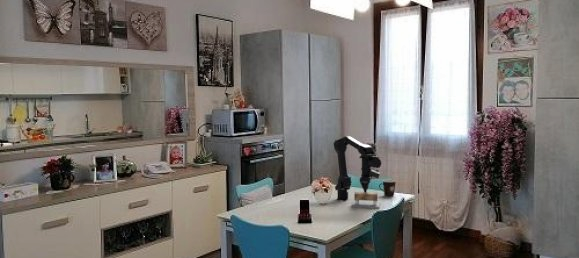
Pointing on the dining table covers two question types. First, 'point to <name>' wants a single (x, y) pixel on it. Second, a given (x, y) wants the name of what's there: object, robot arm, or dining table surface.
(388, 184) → the coffee mug
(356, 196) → the shelf board
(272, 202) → the dining table surface
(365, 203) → the peg plate
